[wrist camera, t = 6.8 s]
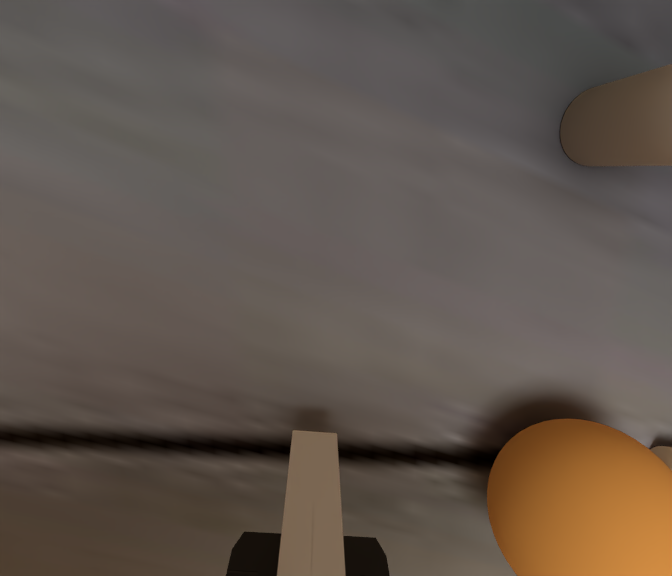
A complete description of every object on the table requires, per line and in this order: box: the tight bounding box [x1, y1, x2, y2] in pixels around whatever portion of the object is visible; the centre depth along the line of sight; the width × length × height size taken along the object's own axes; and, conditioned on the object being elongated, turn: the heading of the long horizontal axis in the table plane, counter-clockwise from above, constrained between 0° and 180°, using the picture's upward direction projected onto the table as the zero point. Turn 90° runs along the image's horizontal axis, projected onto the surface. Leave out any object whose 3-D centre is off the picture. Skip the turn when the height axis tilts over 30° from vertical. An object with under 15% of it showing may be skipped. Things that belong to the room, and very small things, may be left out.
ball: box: [487, 419, 672, 576], centre depth 13 cm, size 6×6×6 cm
